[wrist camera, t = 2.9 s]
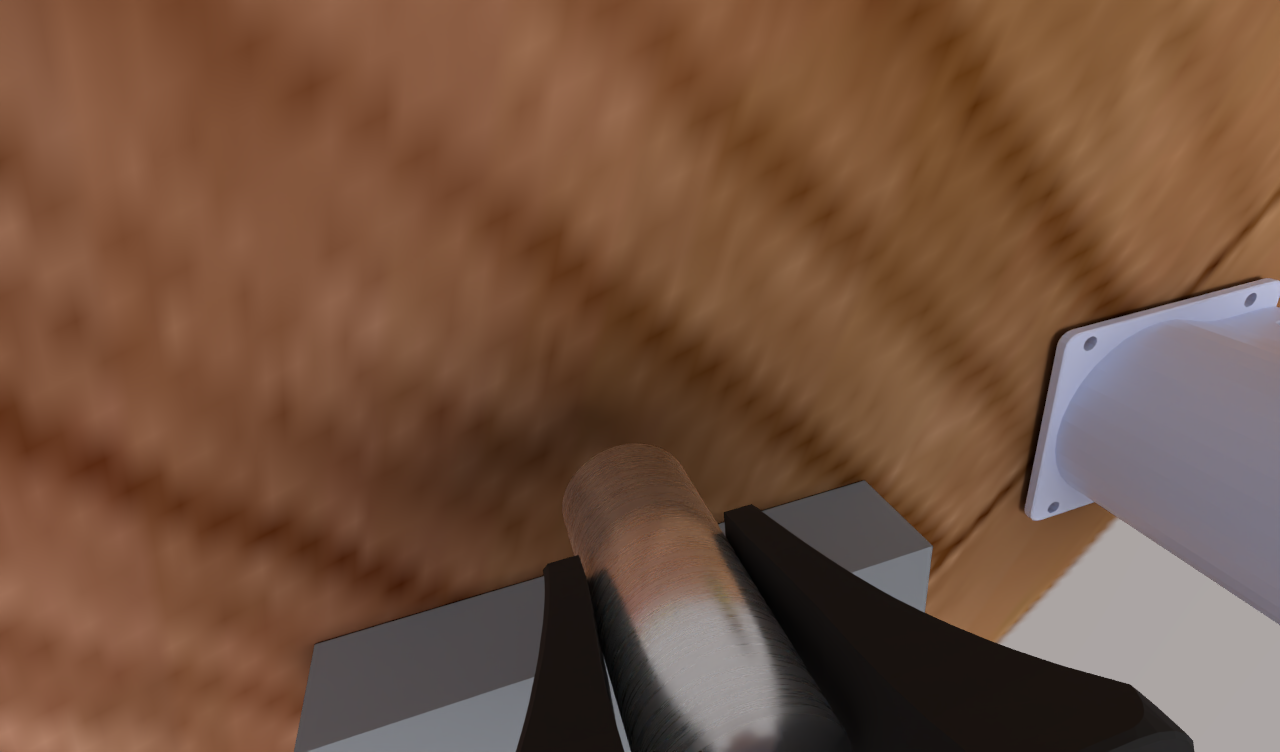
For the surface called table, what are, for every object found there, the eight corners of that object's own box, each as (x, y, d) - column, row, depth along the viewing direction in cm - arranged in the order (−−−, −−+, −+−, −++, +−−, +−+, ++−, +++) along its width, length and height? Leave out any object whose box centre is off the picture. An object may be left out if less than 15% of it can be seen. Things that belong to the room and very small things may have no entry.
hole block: (864, 480, 22) (932, 545, 19) (854, 673, 27) (908, 751, 24) (314, 644, 19) (293, 756, 16) (411, 834, 24) (409, 949, 20)
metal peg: (681, 429, 15) (856, 686, 9) (692, 531, 16) (849, 815, 10) (550, 463, 14) (641, 765, 8) (574, 566, 16) (665, 889, 9)
